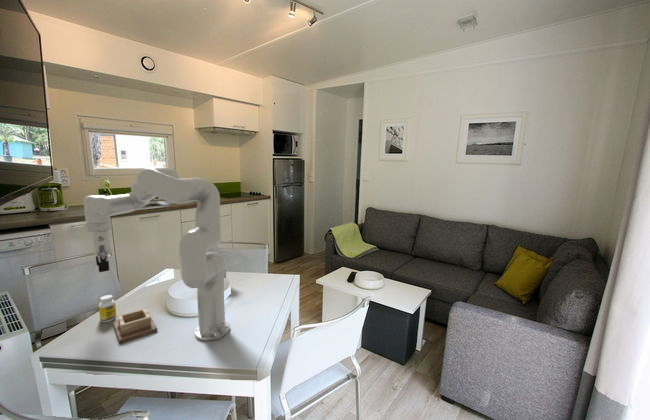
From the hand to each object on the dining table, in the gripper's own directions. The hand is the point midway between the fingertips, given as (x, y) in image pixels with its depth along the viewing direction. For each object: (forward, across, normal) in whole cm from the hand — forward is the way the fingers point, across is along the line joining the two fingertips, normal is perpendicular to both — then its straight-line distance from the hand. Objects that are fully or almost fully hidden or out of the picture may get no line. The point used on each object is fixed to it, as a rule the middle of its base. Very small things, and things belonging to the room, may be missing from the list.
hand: (102, 267), depth 114 cm
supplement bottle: (+23, 0, 0) cm, 23 cm away
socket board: (+22, -15, -7) cm, 28 cm away
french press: (+22, +3, -47) cm, 52 cm away
